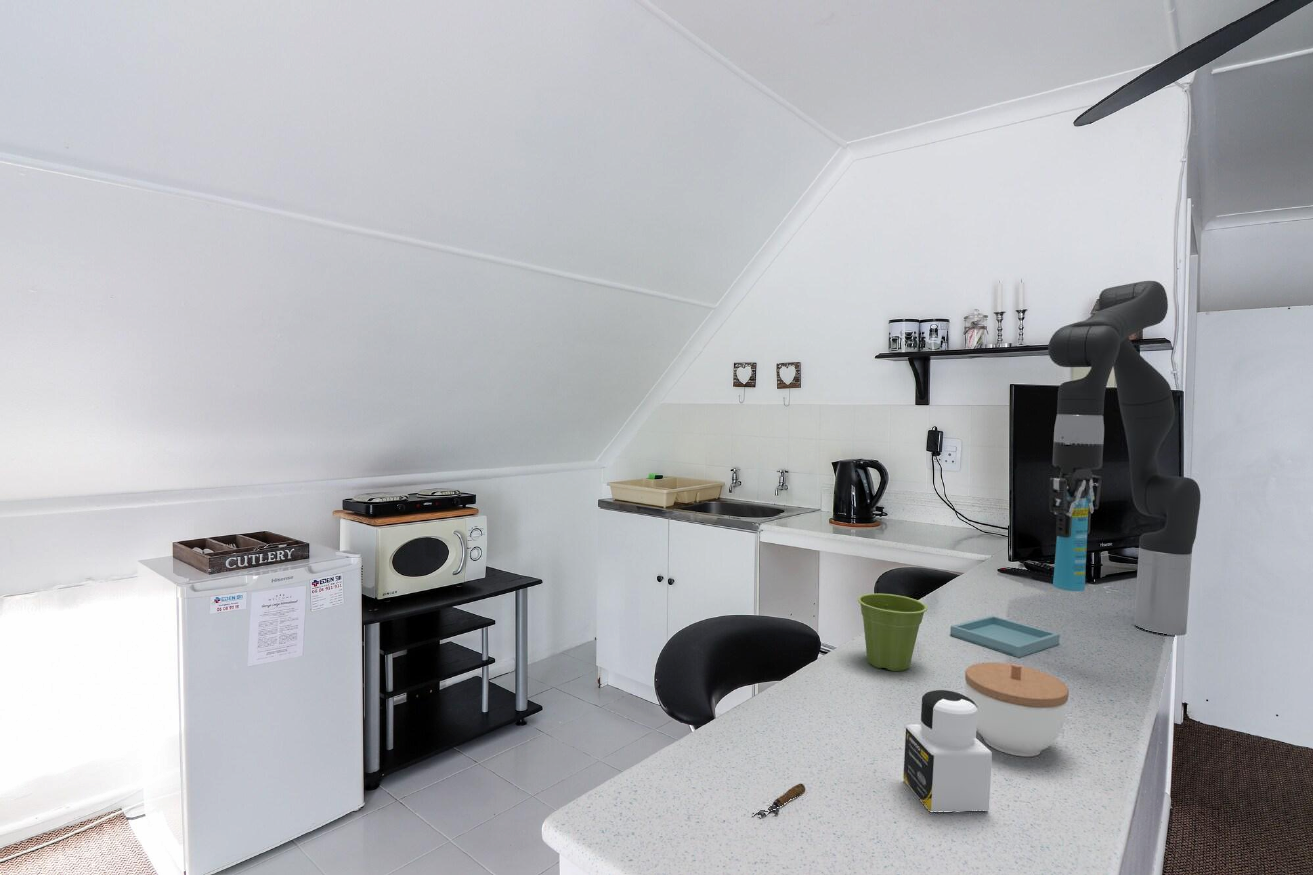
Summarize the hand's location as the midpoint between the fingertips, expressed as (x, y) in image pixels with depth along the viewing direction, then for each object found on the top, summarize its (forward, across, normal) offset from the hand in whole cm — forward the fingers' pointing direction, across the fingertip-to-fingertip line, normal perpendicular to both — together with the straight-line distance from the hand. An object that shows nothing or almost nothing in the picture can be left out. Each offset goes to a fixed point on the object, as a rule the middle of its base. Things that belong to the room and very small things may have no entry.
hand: (1072, 534), depth 124 cm
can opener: (+24, +74, +4) cm, 78 cm away
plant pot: (+24, +26, -18) cm, 40 cm away
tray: (+24, -6, -14) cm, 29 cm away
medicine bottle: (+24, +56, +13) cm, 63 cm away
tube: (+10, 0, 0) cm, 10 cm away
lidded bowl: (+24, +36, +10) cm, 45 cm away
